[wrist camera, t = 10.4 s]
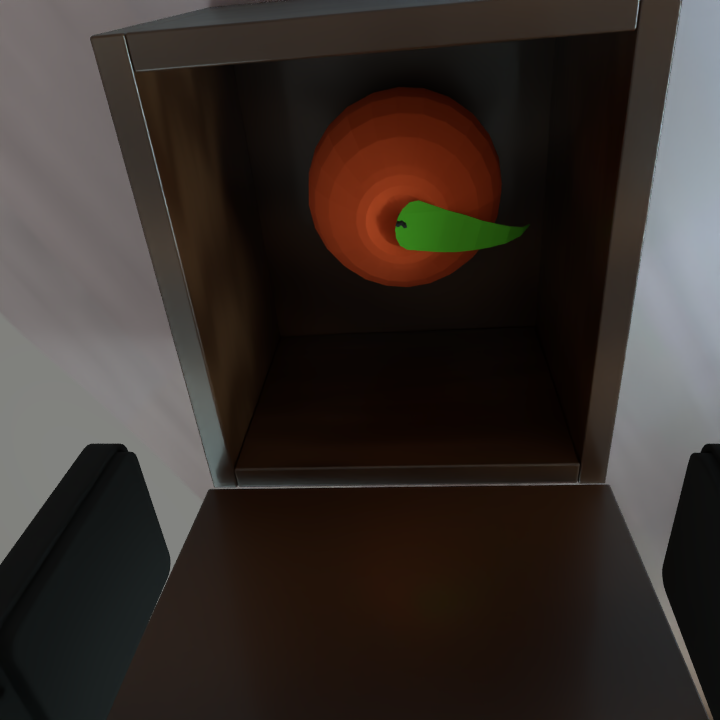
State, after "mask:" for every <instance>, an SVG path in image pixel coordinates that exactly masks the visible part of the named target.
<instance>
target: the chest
mask: <svg viewBox="0 0 720 720" xmlns="http://www.w3.org/2000/svg"><path fill="white" fill-rule="evenodd" d="M681 4H682V0H285V1H274V2H264V3H253V4H243V5H232V6H221V7H211V8H205V9H201V10H197V11H192V12H188V13H184V14H180V15H176V16H172V17H167V18H163V19H159V20H155V21H151V22H147V23H142V24H138V25H134V26H130V27H126V28H122V29H117V30H113V31H109V32H105V33H101V34H97V35H93V36H91V37H90V40H91V43H92V47H93V51H94V54H95V58H96V61H97V65H98V69H99V72H100V76H101V80H102V83H103V87H104V90H105V94H106V98H107V101H108V105H109V108H110V112H111V116H112V119H113V123H114V126H115V130H116V134H117V137H118V141H119V145H120V148H121V152H122V155H123V159H124V163H125V166H126V170H127V173H128V177H129V181H130V184H131V188H132V192H133V195H134V199H135V202H136V206H137V210H138V213H139V217H140V220H141V224H142V228H143V231H144V235H145V239H146V242H147V246H148V249H149V253H150V257H151V260H152V264H153V267H154V271H155V275H156V278H157V282H158V286H159V289H160V293H161V296H162V300H163V304H164V307H165V311H166V314H167V318H168V322H169V325H170V329H171V333H172V336H173V340H174V343H175V347H176V351H177V354H178V358H179V361H180V365H181V369H182V372H183V376H184V379H185V383H186V387H187V390H188V394H189V398H190V401H191V405H192V408H193V412H194V416H195V419H196V423H197V426H198V430H199V434H200V437H201V441H202V445H203V448H204V452H205V455H206V459H207V463H208V466H209V470H210V473H211V477H212V481H213V484H214V487H216V488H217V487H237V486H239V487H282V486H363V485H444V484H525V483H576V482H577V481H578V483H605V480H606V474H607V468H608V461H609V455H610V449H611V442H612V436H613V430H614V424H615V417H616V411H617V405H618V399H619V392H620V386H621V380H622V374H623V367H624V361H625V355H626V349H627V342H628V336H629V330H630V323H631V317H632V311H633V305H634V298H635V292H636V286H637V280H638V273H639V267H640V261H641V255H642V248H643V242H644V236H645V229H646V223H647V217H648V211H649V204H650V198H651V192H652V186H653V179H654V173H655V167H656V161H657V154H658V148H659V142H660V136H661V129H662V123H663V117H664V110H665V104H666V98H667V92H668V85H669V79H670V73H671V67H672V60H673V54H674V48H675V42H676V35H677V29H678V23H679V17H680V10H681ZM396 87H412V88H425V89H428V90H431V91H434V92H437V93H439V94H442V95H445V96H448V97H450V98H452V99H453V100H454V101H456V102H457V103H459V104H460V105H461V106H463V107H464V108H466V109H467V110H469V111H470V112H471V113H473V114H474V116H475V117H476V118H477V120H478V121H479V122H480V123H481V125H482V126H483V127H484V128H485V130H486V131H487V132H488V133H489V135H490V138H491V140H492V143H493V145H494V147H495V150H496V152H497V155H498V157H499V163H500V172H501V181H502V189H501V197H500V204H499V210H498V216H497V219H496V221H495V223H496V224H501V225H506V226H513V227H524V226H526V225H528V224H530V225H529V227H528V228H527V229H526V230H525V231H524V233H523V234H522V235H521V236H520V237H518V238H516V239H514V240H512V241H510V242H508V243H506V244H502V245H498V246H493V247H489V248H484V249H479V250H478V251H477V253H476V254H475V255H474V256H473V258H471V259H470V260H469V261H468V262H466V263H465V264H464V265H462V266H461V267H460V268H458V269H457V270H456V271H455V272H453V273H451V274H450V275H448V276H445V277H443V278H441V279H438V280H436V281H434V282H432V283H429V284H423V285H418V286H412V287H398V286H385V285H382V284H379V283H376V282H373V281H369V280H366V279H364V278H363V277H361V276H359V275H358V274H356V273H354V272H353V271H351V270H350V269H348V268H346V267H345V266H344V265H343V264H342V263H341V262H340V261H339V260H338V259H337V258H336V257H335V256H334V255H333V254H332V253H331V252H330V251H329V250H328V249H327V248H326V246H325V244H324V243H323V241H322V239H321V237H320V236H319V234H318V232H317V231H316V229H315V226H314V222H313V219H312V215H311V211H310V208H309V170H310V167H311V163H312V159H313V155H314V151H315V148H316V146H317V144H318V143H319V141H320V139H321V137H322V136H323V134H324V132H325V131H326V129H327V127H328V125H329V124H330V123H331V122H333V121H334V120H335V119H336V118H337V117H338V116H339V115H340V114H341V113H342V112H343V111H344V110H345V109H346V108H347V107H348V106H350V105H352V104H353V103H355V102H357V101H359V100H361V99H363V98H364V97H366V96H368V95H370V94H372V93H374V92H378V91H383V90H387V89H391V88H396Z"/></svg>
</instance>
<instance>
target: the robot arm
mask: <svg viewBox="0 0 720 720" xmlns="http://www.w3.org/2000/svg"><path fill="white" fill-rule="evenodd" d="M169 571H170V555H169V552H168V549H167V546H166V543H165V540H164V537H163V534H162V531H161V528H160V525H159V522H158V519H157V516H156V513H155V510H154V507H153V504H152V501H151V498H150V495H149V492H148V489H147V486H146V483H145V480H144V477H143V474H142V471H141V468H140V465H139V462H138V459H137V457H136V455H135V454H134V453H133V452H128V450H127V448H126V447H125V446H124V445H123V444H90V445H87V446H86V447H85V448H84V450H83V451H82V452H81V454H80V455H79V456H78V458H77V459H76V460H75V462H74V463H73V465H72V466H71V468H70V469H69V470H68V472H67V473H66V474H65V476H64V477H63V478H62V480H61V481H60V483H59V484H58V486H57V487H56V488H55V490H54V491H53V492H52V494H51V495H50V497H49V498H48V499H47V501H46V502H45V504H44V505H43V506H42V508H41V509H40V510H39V512H38V513H37V515H36V516H35V518H34V519H33V520H32V522H31V523H30V524H29V526H28V527H27V528H26V530H25V531H24V533H23V534H22V535H21V537H20V538H19V540H18V541H17V542H16V544H15V545H14V547H13V548H12V549H11V551H10V552H9V554H8V555H7V556H6V558H5V559H4V561H3V562H2V563H1V565H0V720H106V719H107V717H108V715H109V712H110V710H111V708H112V705H113V703H114V701H115V698H116V696H117V694H118V691H119V689H120V687H121V684H122V682H123V680H124V678H125V675H126V673H127V671H128V668H129V666H130V664H131V661H132V659H133V657H134V654H135V652H136V650H137V647H138V645H139V643H140V640H141V638H142V636H143V633H144V631H145V629H146V627H147V624H148V622H149V620H150V617H151V615H152V613H153V610H154V608H155V606H156V603H157V601H158V599H159V596H160V594H161V592H162V589H163V587H164V585H165V582H166V580H167V578H168V575H169ZM662 577H663V584H664V588H665V591H666V594H667V597H668V599H669V602H670V605H671V607H672V610H673V613H674V615H675V618H676V621H677V623H678V626H679V629H680V631H681V634H682V637H683V639H684V642H685V645H686V647H687V650H688V653H689V655H690V658H691V661H692V663H693V666H694V669H695V671H696V674H697V677H698V679H699V682H700V684H701V687H702V690H703V692H704V695H705V698H706V700H707V703H708V706H709V708H710V711H711V714H712V716H713V719H714V720H720V444H706V445H704V447H703V448H702V450H701V453H693V454H692V455H691V456H690V459H689V462H688V466H687V470H686V474H685V478H684V482H683V486H682V491H681V495H680V499H679V503H678V507H677V511H676V515H675V519H674V523H673V527H672V531H671V535H670V539H669V543H668V547H667V551H666V555H665V559H664V563H663V568H662Z"/></svg>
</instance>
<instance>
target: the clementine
mask: <svg viewBox="0 0 720 720" xmlns="http://www.w3.org/2000/svg"><path fill="white" fill-rule="evenodd" d="M501 189H502V181H501V172H500V163H499V157H498V155H497V152H496V150H495V147H494V145H493V143H492V140H491V138H490V135H489V133H488V132H487V131H486V130H485V128H484V127H483V126H482V125H481V123H480V122H479V121H478V120H477V118H476V117H475V116H474V114H473V113H471V112H470V111H469V110H467V109H466V108H464V107H463V106H461V105H460V104H459V103H457V102H456V101H454V100H453V99H452V98H450V97H448V96H445V95H442V94H439V93H437V92H434V91H431V90H428V89H425V88H412V87H396V88H391V89H387V90H383V91H378V92H374V93H372V94H370V95H368V96H366V97H364V98H363V99H361V100H359V101H357V102H355V103H353V104H352V105H350V106H348V107H347V108H346V109H345V110H344V111H343V112H342V113H341V114H340V115H339V116H338V117H337V118H336V119H335V120H334V121H333V122H331V123H330V124H329V125H328V127H327V129H326V131H325V132H324V134H323V136H322V137H321V139H320V141H319V143H318V144H317V146H316V148H315V151H314V155H313V159H312V163H311V167H310V170H309V208H310V211H311V215H312V219H313V222H314V226H315V229H316V231H317V232H318V234H319V236H320V237H321V239H322V241H323V243H324V244H325V246H326V248H327V249H328V250H329V251H330V252H331V253H332V254H333V255H334V256H335V257H336V258H337V259H338V260H339V261H340V262H341V263H342V264H343V265H344V266H345V267H346V268H348V269H350V270H351V271H353V272H354V273H356V274H358V275H359V276H361V277H363V278H364V279H366V280H369V281H373V282H376V283H379V284H382V285H385V286H398V287H412V286H418V285H423V284H429V283H432V282H434V281H436V280H438V279H441V278H443V277H445V276H448V275H450V274H451V273H453V272H455V271H456V270H457V269H458V268H460V267H461V266H462V265H464V264H465V263H466V262H468V261H469V260H470V259H471V258H473V256H474V255H475V254H476V253H477V251H478V250H479V249H484V248H489V247H493V246H498V245H502V244H506V243H508V242H510V241H512V240H514V239H516V238H518V237H520V236H521V235H522V234H523V233H524V231H525V230H526V229H527V228H528V227H529V225H530V224H528V225H526V226H524V227H513V226H506V225H501V224H496V223H495V221H496V219H497V216H498V210H499V204H500V197H501Z"/></svg>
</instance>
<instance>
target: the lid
mask: <svg viewBox="0 0 720 720" xmlns="http://www.w3.org/2000/svg"><path fill="white" fill-rule="evenodd" d="M106 720H710V719H709V717H708V715H707V712H706V710H705V707H704V705H703V703H702V700H701V698H700V696H699V693H698V691H697V689H696V686H695V684H694V682H693V679H692V677H691V675H690V672H689V670H688V668H687V665H686V663H685V661H684V658H683V656H682V654H681V651H680V649H679V646H678V644H677V642H676V639H675V637H674V635H673V632H672V630H671V628H670V625H669V623H668V621H667V618H666V616H665V614H664V611H663V609H662V607H661V604H660V602H659V600H658V597H657V595H656V592H655V590H654V588H653V585H652V583H651V581H650V578H649V576H648V574H647V571H646V569H645V567H644V564H643V562H642V560H641V557H640V555H639V553H638V550H637V548H636V546H635V543H634V541H633V539H632V536H631V534H630V531H629V529H628V527H627V524H626V522H625V520H624V517H623V515H622V513H621V510H620V508H619V506H618V503H617V501H616V499H615V496H614V494H613V492H612V489H611V487H610V485H528V486H444V487H361V488H278V489H210V490H208V492H207V495H206V497H205V499H204V501H203V503H202V506H201V508H200V510H199V512H198V514H197V517H196V519H195V521H194V523H193V526H192V528H191V530H190V532H189V534H188V537H187V539H186V541H185V543H184V545H183V548H182V550H181V552H180V554H179V556H178V559H177V561H176V563H175V565H174V567H173V570H172V572H171V574H170V576H169V578H168V580H167V583H166V585H165V587H164V589H163V591H162V594H161V596H160V598H159V600H158V602H157V605H156V607H155V609H154V611H153V613H152V616H151V618H150V620H149V622H148V624H147V627H146V629H145V631H144V633H143V636H142V638H141V640H140V643H139V645H138V647H137V650H136V652H135V654H134V657H133V659H132V661H131V664H130V666H129V668H128V671H127V673H126V675H125V678H124V680H123V682H122V684H121V687H120V689H119V691H118V694H117V696H116V698H115V701H114V703H113V705H112V708H111V710H110V712H109V715H108V717H107V719H106Z"/></svg>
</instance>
